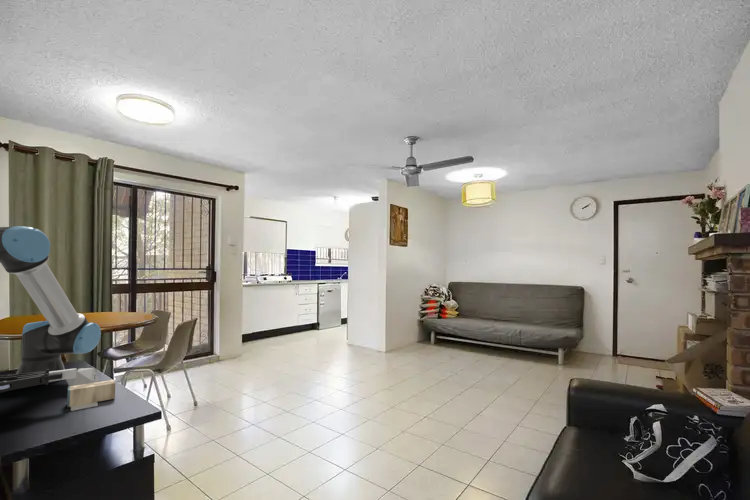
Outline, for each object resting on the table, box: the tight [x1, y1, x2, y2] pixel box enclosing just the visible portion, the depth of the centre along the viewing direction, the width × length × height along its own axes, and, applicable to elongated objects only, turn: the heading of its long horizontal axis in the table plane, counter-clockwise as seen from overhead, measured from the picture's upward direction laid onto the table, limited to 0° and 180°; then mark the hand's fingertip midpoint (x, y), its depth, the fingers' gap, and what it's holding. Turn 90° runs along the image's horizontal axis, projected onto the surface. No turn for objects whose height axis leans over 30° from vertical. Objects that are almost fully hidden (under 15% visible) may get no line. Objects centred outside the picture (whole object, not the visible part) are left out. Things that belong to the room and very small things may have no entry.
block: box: [66, 379, 116, 408], centre depth 120 cm, size 5×5×12 cm
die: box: [65, 367, 101, 387], centre depth 131 cm, size 8×9×10 cm
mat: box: [70, 402, 99, 412], centre depth 119 cm, size 12×6×1 cm, turn 40°
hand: (76, 373), depth 118 cm, fingers closed
